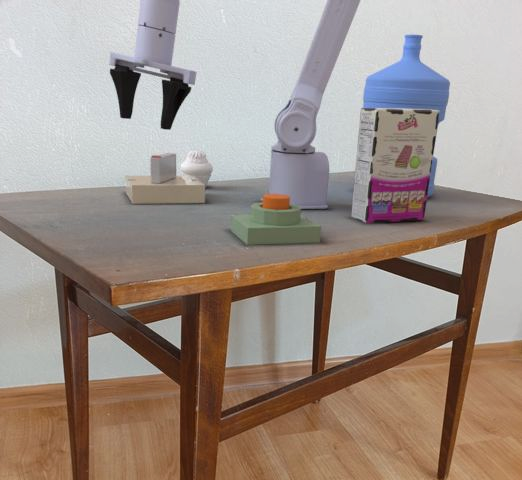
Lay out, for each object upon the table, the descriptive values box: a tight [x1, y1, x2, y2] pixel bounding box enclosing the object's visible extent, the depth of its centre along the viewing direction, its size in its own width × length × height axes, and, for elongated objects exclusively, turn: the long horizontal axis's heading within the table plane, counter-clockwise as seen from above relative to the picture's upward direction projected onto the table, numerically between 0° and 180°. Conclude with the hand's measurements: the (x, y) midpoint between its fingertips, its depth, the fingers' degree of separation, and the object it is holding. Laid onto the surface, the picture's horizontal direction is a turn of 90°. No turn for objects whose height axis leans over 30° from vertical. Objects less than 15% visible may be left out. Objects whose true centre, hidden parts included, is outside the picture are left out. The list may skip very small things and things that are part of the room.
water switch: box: [230, 201, 322, 246], centre depth 79 cm, size 10×8×4 cm
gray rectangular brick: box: [149, 152, 177, 183], centre depth 99 cm, size 8×2×4 cm, turn 168°
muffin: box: [180, 148, 214, 188], centre depth 112 cm, size 6×6×7 cm
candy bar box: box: [350, 107, 440, 224], centre depth 91 cm, size 11×5×16 cm, turn 114°
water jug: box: [353, 34, 451, 199], centre depth 112 cm, size 16×16×28 cm
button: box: [261, 193, 290, 210], centre depth 78 cm, size 4×4×2 cm
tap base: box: [124, 175, 206, 205], centre depth 101 cm, size 12×12×3 cm
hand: (145, 123), depth 95 cm, fingers open, 7 cm apart
